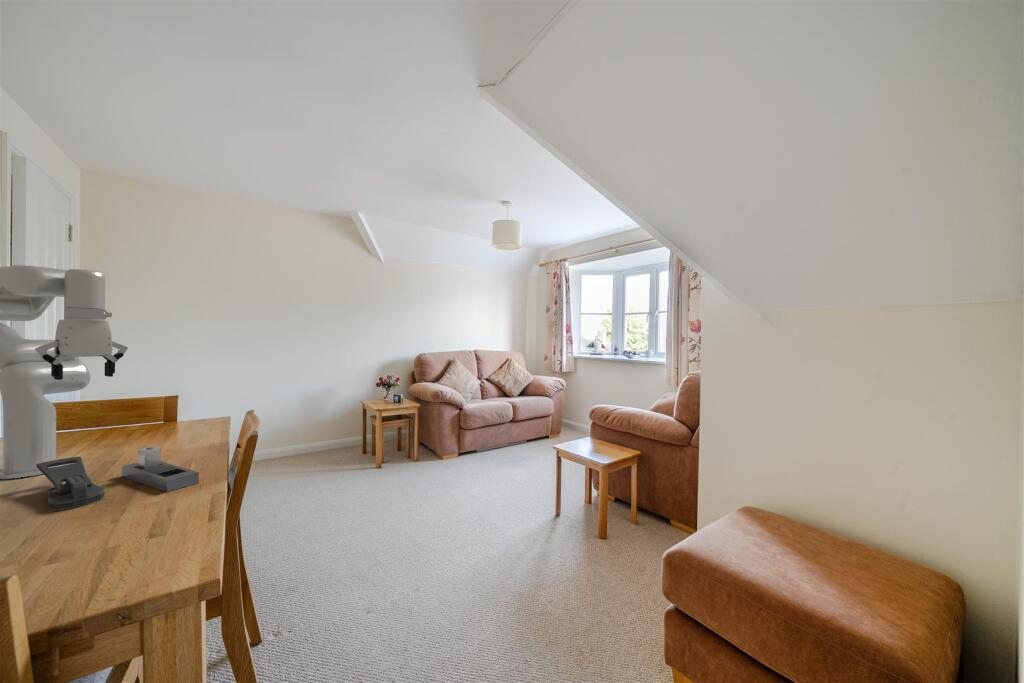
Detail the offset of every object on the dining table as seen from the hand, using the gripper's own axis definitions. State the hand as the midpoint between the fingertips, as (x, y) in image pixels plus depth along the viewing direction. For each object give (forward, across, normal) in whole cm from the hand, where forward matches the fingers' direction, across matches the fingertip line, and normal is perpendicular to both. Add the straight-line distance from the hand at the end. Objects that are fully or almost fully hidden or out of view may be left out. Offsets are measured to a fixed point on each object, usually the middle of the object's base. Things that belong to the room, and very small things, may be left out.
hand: (84, 377), depth 105 cm
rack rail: (+28, -10, +17) cm, 34 cm away
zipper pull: (+29, +6, +9) cm, 31 cm away
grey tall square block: (+28, -10, +11) cm, 32 cm away
